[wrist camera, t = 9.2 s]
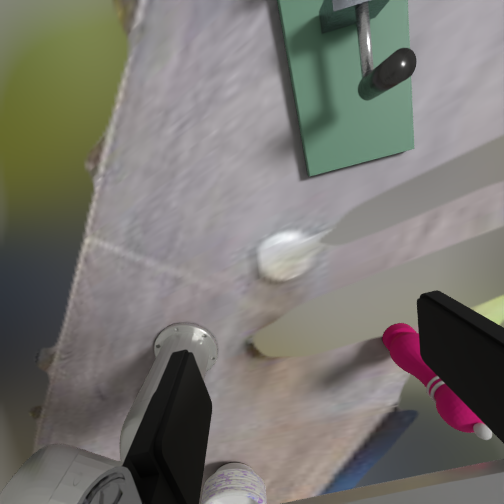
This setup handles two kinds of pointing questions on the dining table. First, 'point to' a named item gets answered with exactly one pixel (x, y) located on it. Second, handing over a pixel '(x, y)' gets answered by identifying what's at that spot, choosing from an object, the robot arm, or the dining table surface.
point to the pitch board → (345, 87)
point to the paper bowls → (234, 486)
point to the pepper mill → (431, 380)
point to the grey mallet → (368, 45)
